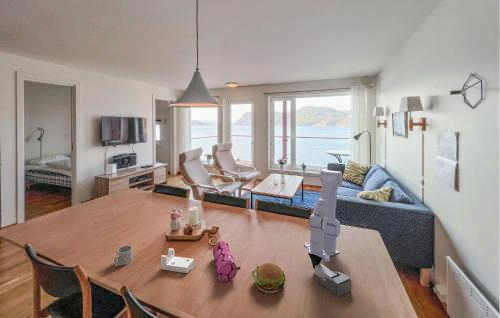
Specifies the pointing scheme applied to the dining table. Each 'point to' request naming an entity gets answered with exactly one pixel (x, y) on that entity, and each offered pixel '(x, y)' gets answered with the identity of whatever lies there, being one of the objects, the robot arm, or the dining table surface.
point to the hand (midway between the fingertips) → (315, 268)
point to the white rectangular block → (324, 272)
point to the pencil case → (224, 262)
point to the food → (269, 278)
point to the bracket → (176, 262)
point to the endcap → (337, 283)
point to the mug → (124, 256)
